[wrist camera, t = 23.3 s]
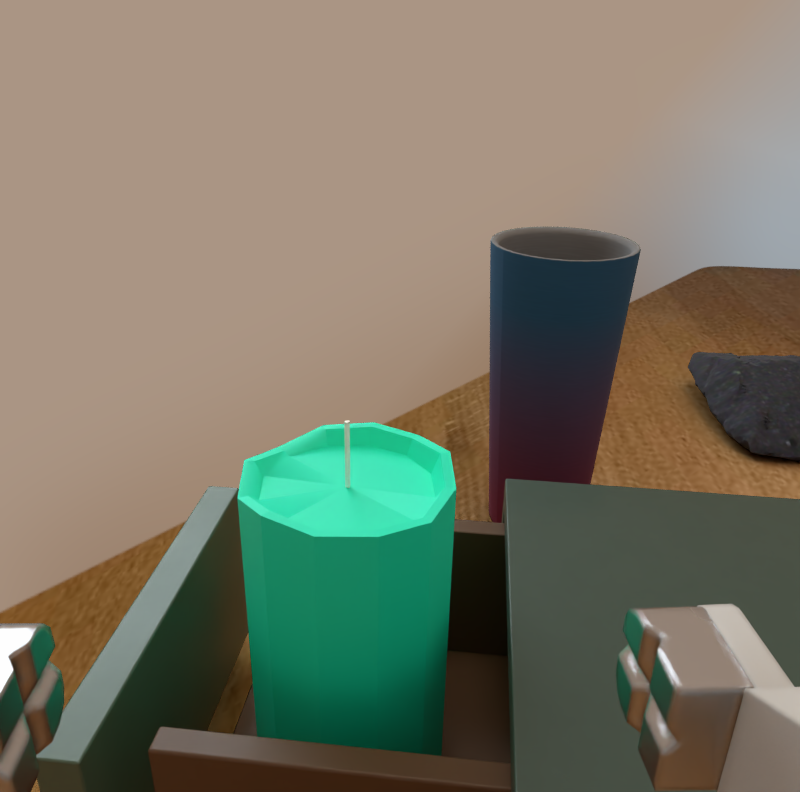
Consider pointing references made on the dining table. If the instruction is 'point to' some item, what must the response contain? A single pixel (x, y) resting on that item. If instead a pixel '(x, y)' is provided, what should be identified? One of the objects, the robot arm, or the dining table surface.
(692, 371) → the dark slate chunk
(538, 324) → the cup
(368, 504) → the candle
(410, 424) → the dining table surface
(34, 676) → the robot arm
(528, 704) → the cabinet
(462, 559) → the drawer
